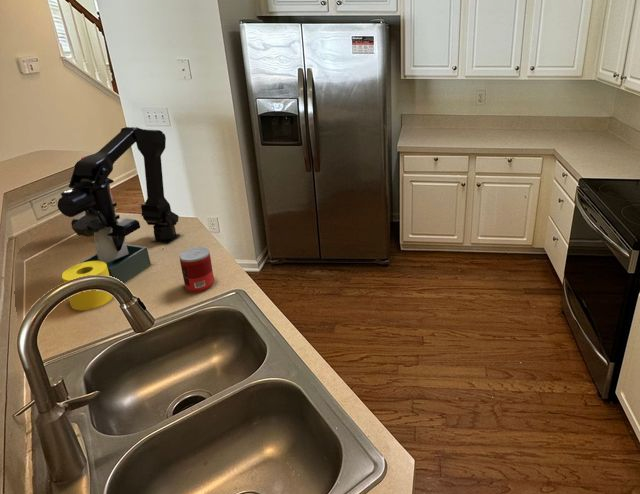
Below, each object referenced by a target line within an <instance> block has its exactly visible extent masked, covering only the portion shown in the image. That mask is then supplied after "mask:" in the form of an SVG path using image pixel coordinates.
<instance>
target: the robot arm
mask: <svg viewBox="0 0 640 494" xmlns="http://www.w3.org/2000/svg"><path fill="white" fill-rule="evenodd" d="M166 141H167V138H166V134H165V133H164V132H163V131H162V130H159V129H145V128H140V127H137V126H124V127H122V128H121V129H120V132H119V133H117V134H116V135H115V136H114V137H113V138H111V140H110V141H108V142H107V143H106V144H105V145H104V146H103V147H101V148H100V149H99V150H98V151H96V152H95V153H92V154H89V155H86V156H83V157H84V158H83V159H81V158H80V159H79V160H77V162H76V163H75V164H74V165H73V167H74V168H73V172H72V175H71V177H70V181H69V184H68V188H69V190H64V191H63V192H61V193H60V196H61V197H60V198H58V201H57V204H56V205H57V209H58V211H59V212H60V213H61V214H62V215H63V216H65V217H69V218H72V220H71V222H70V224H71V229H72V230H73V231H74V233H75V234H76V235H77V236H80V237H85V238H90V237H92V236H93V237H94V233H97V232H99V231H100V230H101V229H103V228H112V232H111V233H109V234H107V235H108V236H110V237H112V239H113V242H114V245H115V248H116V250H117V251H120V250H121V248H122V245H123V242H124V239H125V240H126V236H129V235H131V234H132V233H134V232H136V231H137V230H139V229H141V224H140V220H137V219H133V218H124V219H123V220H121V221H118V220H119V219H120V218H121V217H120V214H116V210H115V211H114V207H115V208H116V207H117V206H118V205H117V204H118V203H117V202H115V201H114V202H112V199H111V195H110V191H109V187H108V185H109V184H110V185H111V184H113V183H114V180H113V179H111V178H109V176H110V174H111V173H113V170H114V164H115V163H116V162H117V161H118V160H119V159H120V158H121V157H122V156H123V155H124V154H125V153H126V152H127V151H128V150H129V149H130V148H132V146H133V145H134V144H135V143H136V148H137V150H138V151H139V152H140V154H141V155H142V157H143V164H144V174H145V186H146V196H147V199H146V200H145V202H144V203H142V204H141V205H140V208H141V214H140V215H141V217H142V219H143V220H144V221H145V223H146V224H147V225H148V226H152V228H153V236H154V238H153V239H152V240H151V241H152V242H153V243H161V244H168V245H169V244H170V243H171V242H173V241H174V240H176V239H177V238H179V237H180V236H181V234H180V233H177V231H176V227H175V226H176V225H177V224H178V222H179V217H180V216H179V214H177V213H175V212H173V211H172V208H171V204H170V202H169V201H168V199H166V197H165V190H164V177H163V166H162V155H163V153H164V151H165V149H166ZM81 180H89V181H94V182H80V181H81ZM84 212H85V213H84ZM78 215H79V216H78ZM75 216H76V217H75ZM73 217H74V218H73ZM116 220H117V221H118V222H116Z"/></svg>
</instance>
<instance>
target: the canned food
mask: <svg viewBox="0 0 640 494" xmlns="http://www.w3.org/2000/svg"><path fill="white" fill-rule="evenodd" d="M210 253H211V252H210V249H209V248H208V247H206V246H195V247H190V248H187V249H186V250H183V251H182V252H181V253H180V254H179V264H180V268H181V273H182V278H183V283H184V287H185V289H186V290H187V291H188V292H189V293H201V292H204V291H206V290H208V289H210V288H211V287H213V285H214V281H215V277H214V272H213V265H212V264H213V263H212V258H211V254H210Z"/></svg>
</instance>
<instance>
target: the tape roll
mask: <svg viewBox="0 0 640 494" xmlns="http://www.w3.org/2000/svg"><path fill="white" fill-rule="evenodd" d="M79 263H80V262H79ZM79 263H77V264H74V265H72V266H70V267H69V268H67V269H66V270H64V271H63V272H62V274H61V279H62V281H63V283H64V282H67V281H70V280H73V279H76V278H79V277H83V276H87V275H108V276H109V272H108V268H107V264H106V263H105V262H103V261H88V262H83V263H80V264H79ZM113 298H114V296H111V295H110V294H108V293H106V292H102V291H96V290H91V291H86V292H81V293H79V294H76V295H74V296H72V297H70V298H68V300H69V303H70V307H71V308H72V309H73V310H75V311H89V310H94V309H96V308H99V307H102V306H104V305H106V304H107V303H109V302H110V301H111V300H112V299H113Z"/></svg>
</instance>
